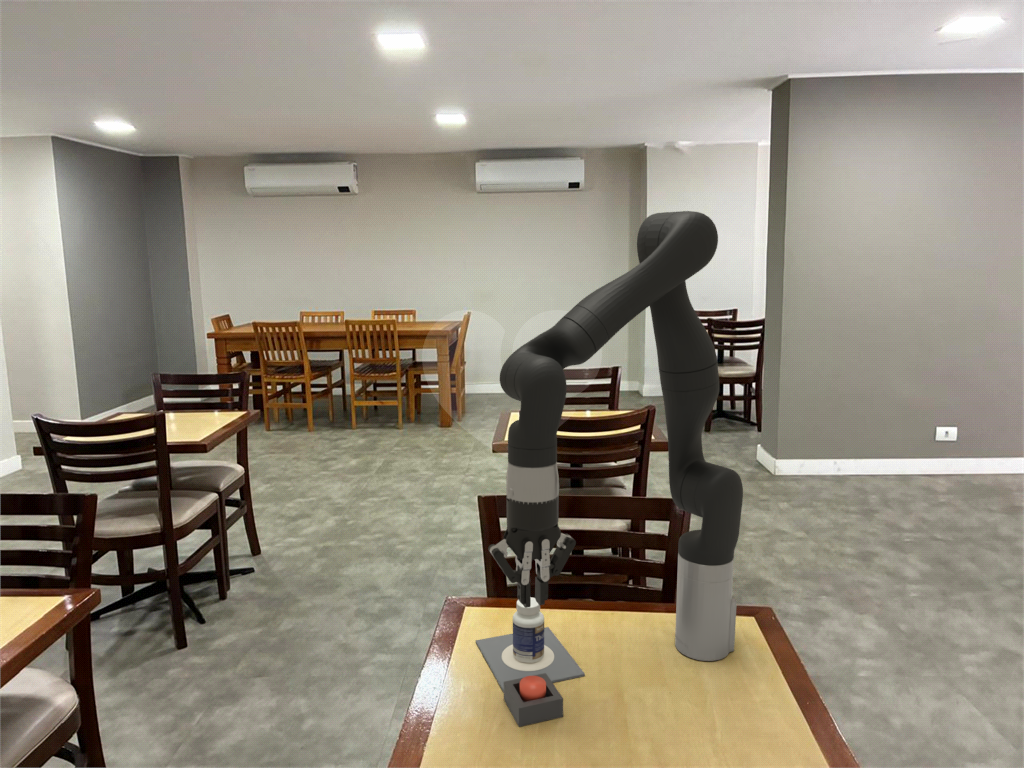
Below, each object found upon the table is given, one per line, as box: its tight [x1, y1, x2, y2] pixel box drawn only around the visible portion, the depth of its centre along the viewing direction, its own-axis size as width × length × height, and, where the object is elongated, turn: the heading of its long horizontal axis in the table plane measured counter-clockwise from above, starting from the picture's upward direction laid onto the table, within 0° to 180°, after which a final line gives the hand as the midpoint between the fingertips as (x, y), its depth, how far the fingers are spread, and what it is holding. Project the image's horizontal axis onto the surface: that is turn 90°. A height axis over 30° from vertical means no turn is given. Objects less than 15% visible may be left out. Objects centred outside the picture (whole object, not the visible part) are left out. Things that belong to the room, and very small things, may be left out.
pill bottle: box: [512, 597, 545, 663], centre depth 119 cm, size 5×5×10 cm
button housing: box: [503, 673, 564, 728], centre depth 107 cm, size 7×7×3 cm
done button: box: [520, 676, 546, 702], centre depth 106 cm, size 4×4×2 cm
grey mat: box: [475, 626, 586, 694], centre depth 120 cm, size 14×16×1 cm
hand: (532, 603), depth 104 cm, fingers closed
